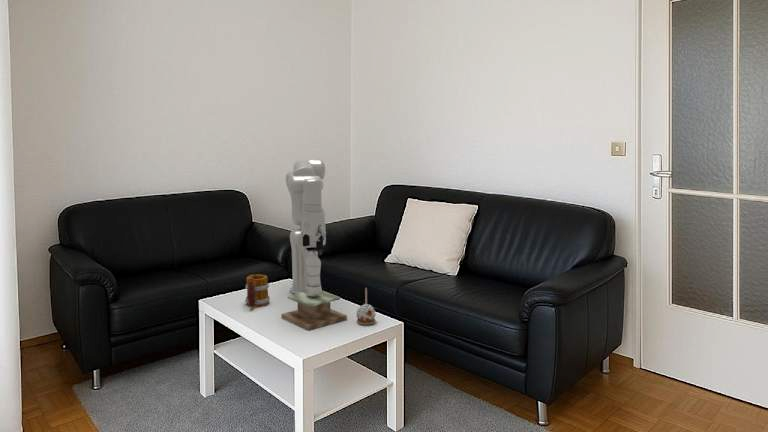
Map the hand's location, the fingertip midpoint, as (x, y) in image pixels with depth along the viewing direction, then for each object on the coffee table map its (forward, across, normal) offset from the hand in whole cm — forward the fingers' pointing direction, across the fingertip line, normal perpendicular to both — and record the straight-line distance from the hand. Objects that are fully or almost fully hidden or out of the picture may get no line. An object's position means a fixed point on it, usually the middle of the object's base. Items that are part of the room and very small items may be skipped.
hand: (312, 247), depth 253 cm
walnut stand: (+31, +1, 0) cm, 31 cm away
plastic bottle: (+21, +1, 0) cm, 21 cm away
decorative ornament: (+31, +19, +14) cm, 39 cm away
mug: (+32, -32, -10) cm, 46 cm away
